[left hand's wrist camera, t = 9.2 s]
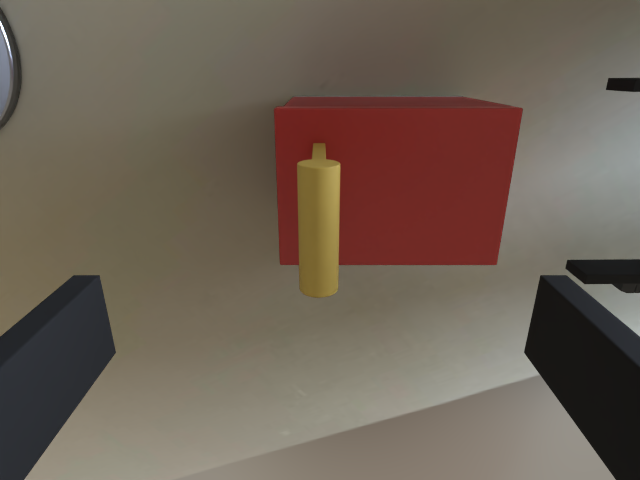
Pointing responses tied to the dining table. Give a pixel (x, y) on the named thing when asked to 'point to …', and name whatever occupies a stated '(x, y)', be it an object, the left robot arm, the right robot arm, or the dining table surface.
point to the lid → (391, 186)
